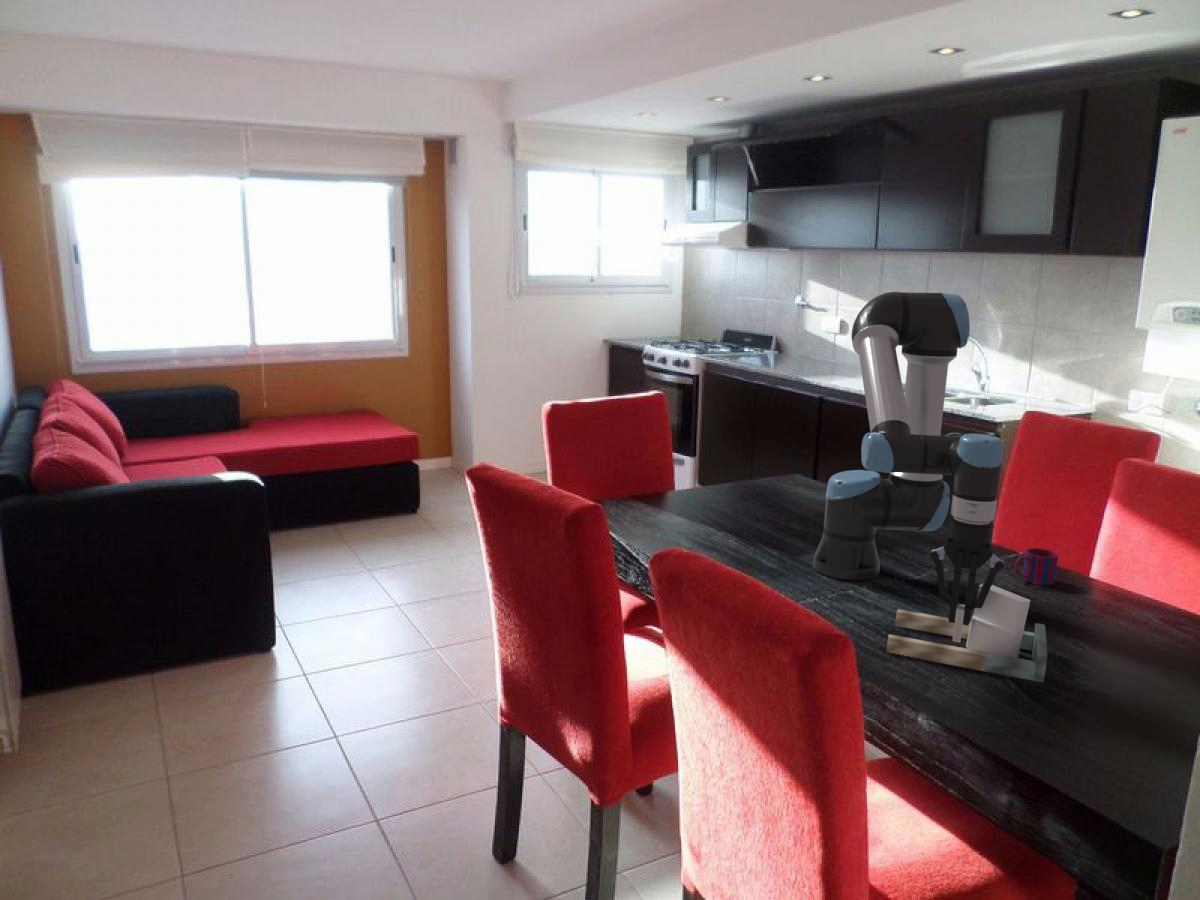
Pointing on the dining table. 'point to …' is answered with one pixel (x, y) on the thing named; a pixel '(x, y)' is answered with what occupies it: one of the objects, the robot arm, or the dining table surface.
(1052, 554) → the mug
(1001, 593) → the cylinder with rectangular tab
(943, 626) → the bay
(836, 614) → the dining table surface
